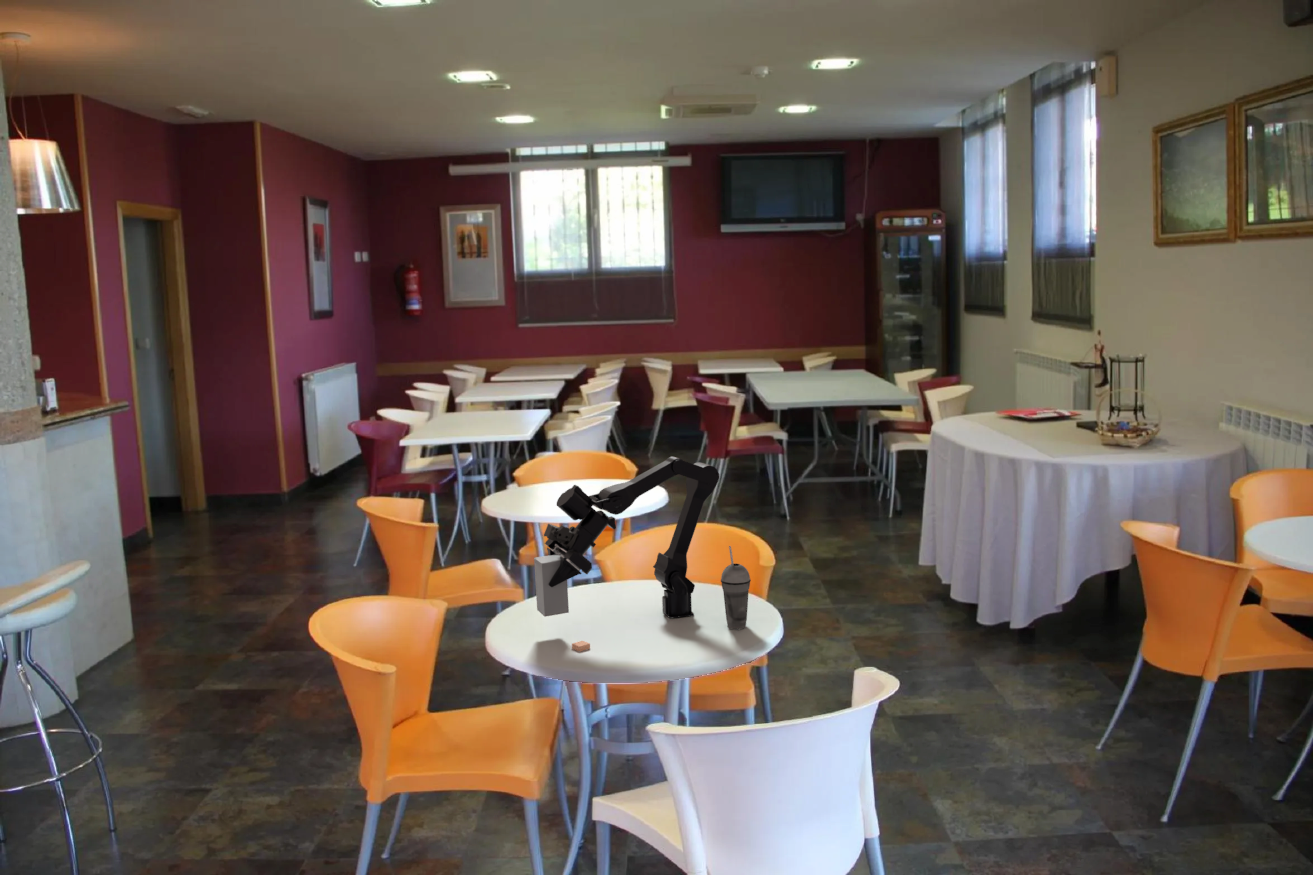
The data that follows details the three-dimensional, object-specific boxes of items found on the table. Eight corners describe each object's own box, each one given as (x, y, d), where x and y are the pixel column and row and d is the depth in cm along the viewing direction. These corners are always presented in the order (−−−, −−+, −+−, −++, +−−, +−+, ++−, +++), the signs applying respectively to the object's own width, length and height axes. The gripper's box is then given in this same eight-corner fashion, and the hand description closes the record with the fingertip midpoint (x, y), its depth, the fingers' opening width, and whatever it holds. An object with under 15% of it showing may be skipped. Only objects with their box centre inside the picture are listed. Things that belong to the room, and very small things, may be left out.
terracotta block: (582, 646, 253) (582, 640, 252) (590, 649, 250) (589, 643, 250) (572, 649, 251) (571, 643, 251) (579, 652, 248) (579, 646, 248)
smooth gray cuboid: (560, 605, 264) (557, 554, 262) (568, 612, 258) (565, 559, 256) (537, 609, 262) (534, 557, 259) (544, 616, 256) (541, 563, 254)
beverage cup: (749, 631, 258) (748, 550, 256) (719, 630, 260) (717, 549, 257) (753, 622, 266) (751, 542, 263) (723, 621, 267) (722, 542, 264)
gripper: (550, 504, 266) (510, 554, 264) (577, 518, 250) (533, 571, 247) (582, 532, 271) (542, 581, 268) (610, 547, 254) (567, 600, 251)
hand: (545, 582), depth 258 cm, fingers closed on smooth gray cuboid, 6 cm apart
